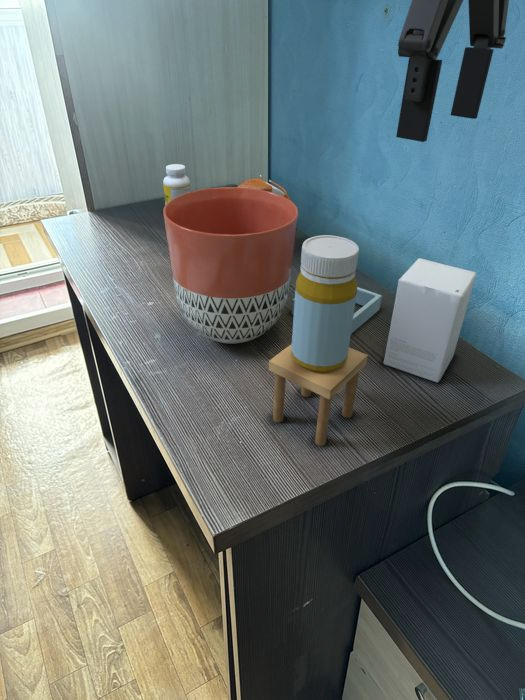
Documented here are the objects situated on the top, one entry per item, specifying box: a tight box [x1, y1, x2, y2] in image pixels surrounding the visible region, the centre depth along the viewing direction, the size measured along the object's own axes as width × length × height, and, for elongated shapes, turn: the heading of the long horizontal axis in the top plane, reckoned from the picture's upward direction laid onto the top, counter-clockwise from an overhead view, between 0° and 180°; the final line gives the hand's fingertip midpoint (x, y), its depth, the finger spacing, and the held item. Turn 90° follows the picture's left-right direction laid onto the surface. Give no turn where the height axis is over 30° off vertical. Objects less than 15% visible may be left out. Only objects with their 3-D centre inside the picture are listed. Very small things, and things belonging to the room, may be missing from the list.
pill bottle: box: [162, 163, 191, 205], centre depth 128 cm, size 6×6×12 cm
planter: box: [162, 186, 299, 345], centre depth 81 cm, size 20×20×21 cm
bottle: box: [291, 234, 360, 372], centre depth 61 cm, size 7×7×15 cm
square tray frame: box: [291, 286, 383, 335], centre depth 93 cm, size 12×12×3 cm
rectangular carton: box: [383, 257, 478, 383], centre depth 78 cm, size 9×9×15 cm
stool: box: [268, 343, 369, 447], centre depth 68 cm, size 9×9×10 cm
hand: (439, 127), depth 52 cm, fingers open, 13 cm apart
